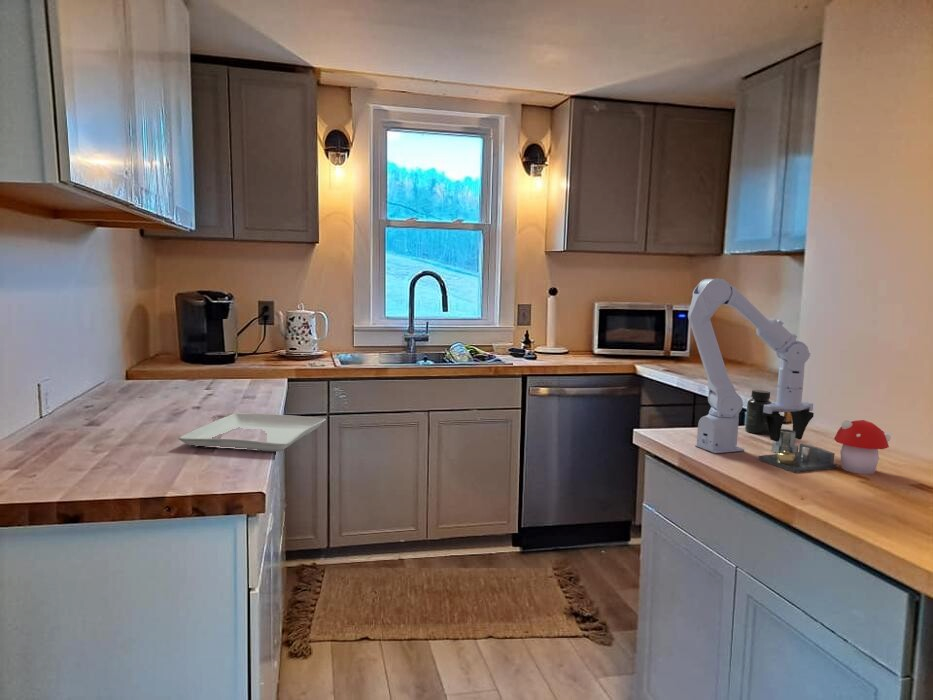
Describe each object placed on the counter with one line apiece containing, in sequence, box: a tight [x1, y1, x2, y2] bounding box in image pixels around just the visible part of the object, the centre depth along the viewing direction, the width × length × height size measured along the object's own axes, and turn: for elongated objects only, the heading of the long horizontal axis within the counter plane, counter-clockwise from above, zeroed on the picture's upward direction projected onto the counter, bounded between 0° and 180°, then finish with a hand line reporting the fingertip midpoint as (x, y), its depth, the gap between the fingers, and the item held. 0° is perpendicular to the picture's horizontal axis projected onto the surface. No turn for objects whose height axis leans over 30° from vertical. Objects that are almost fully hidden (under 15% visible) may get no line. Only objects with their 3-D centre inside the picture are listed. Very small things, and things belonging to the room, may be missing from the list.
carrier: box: [758, 443, 837, 473], centre depth 151 cm, size 13×10×4 cm
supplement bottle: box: [744, 389, 773, 435], centre depth 182 cm, size 7×7×12 cm
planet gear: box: [771, 428, 800, 454], centre depth 161 cm, size 6×6×6 cm
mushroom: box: [833, 419, 892, 475], centre depth 146 cm, size 11×11×12 cm
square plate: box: [178, 413, 326, 452], centre depth 161 cm, size 27×27×4 cm
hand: (785, 439), depth 161 cm, fingers open, 7 cm apart
